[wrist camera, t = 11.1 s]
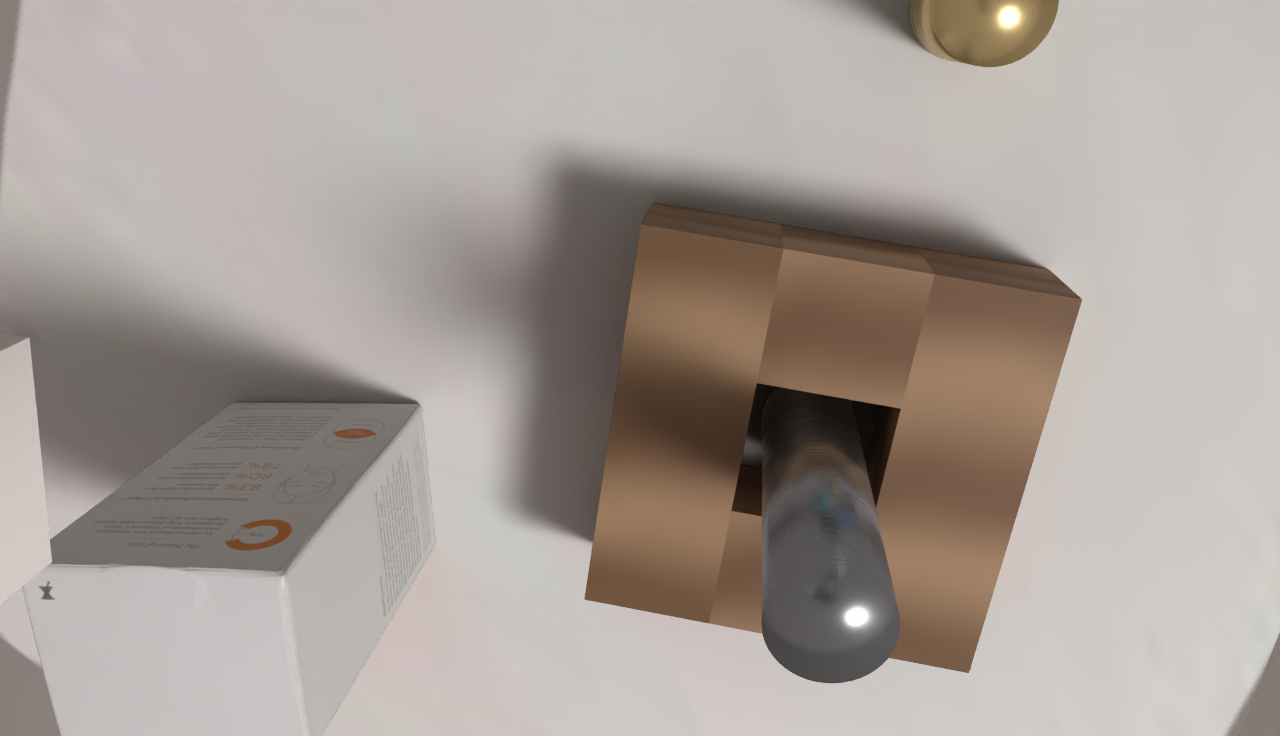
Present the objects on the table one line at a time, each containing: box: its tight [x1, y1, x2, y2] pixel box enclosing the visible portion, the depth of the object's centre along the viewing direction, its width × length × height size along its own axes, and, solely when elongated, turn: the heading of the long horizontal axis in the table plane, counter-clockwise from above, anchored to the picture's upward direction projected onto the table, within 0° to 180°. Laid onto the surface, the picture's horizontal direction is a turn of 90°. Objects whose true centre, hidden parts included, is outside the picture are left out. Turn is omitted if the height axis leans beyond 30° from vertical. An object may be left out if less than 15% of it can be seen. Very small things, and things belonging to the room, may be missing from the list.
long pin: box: [762, 387, 900, 683], centre depth 32 cm, size 3×3×14 cm
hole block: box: [585, 203, 1082, 673], centre depth 37 cm, size 14×14×4 cm
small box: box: [22, 403, 436, 736], centre depth 36 cm, size 8×6×13 cm
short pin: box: [909, 0, 1059, 67], centre depth 32 cm, size 3×3×5 cm
